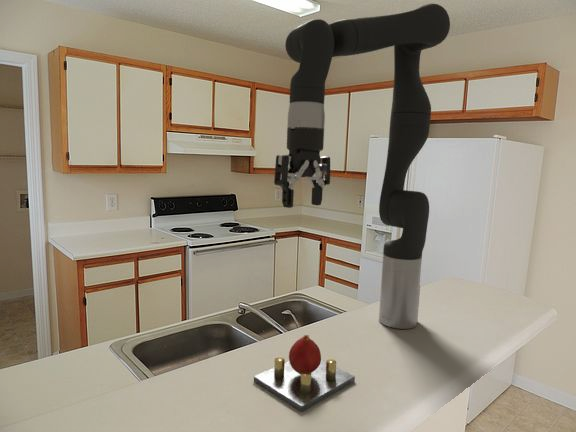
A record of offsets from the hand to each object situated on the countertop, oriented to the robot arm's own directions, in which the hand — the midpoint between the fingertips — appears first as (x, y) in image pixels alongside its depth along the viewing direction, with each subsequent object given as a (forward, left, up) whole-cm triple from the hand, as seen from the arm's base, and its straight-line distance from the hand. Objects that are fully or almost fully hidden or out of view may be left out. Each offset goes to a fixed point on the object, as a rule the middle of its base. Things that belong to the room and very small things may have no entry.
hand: (302, 206), depth 86 cm
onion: (+10, +12, -30) cm, 33 cm away
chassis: (+10, +12, -30) cm, 34 cm away
